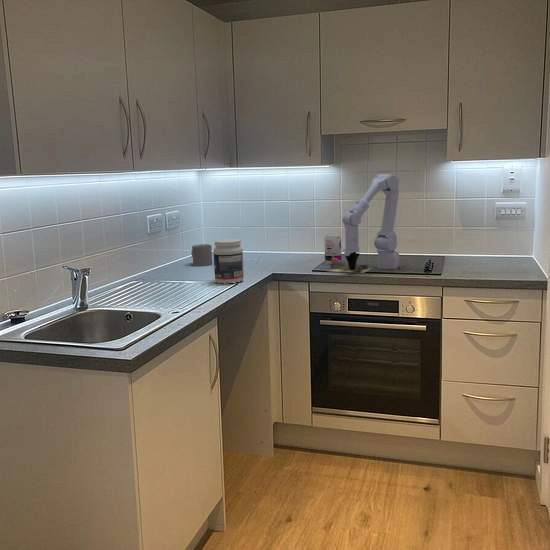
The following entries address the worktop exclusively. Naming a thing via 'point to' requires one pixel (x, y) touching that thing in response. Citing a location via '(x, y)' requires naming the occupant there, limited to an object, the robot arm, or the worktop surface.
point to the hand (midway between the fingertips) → (352, 269)
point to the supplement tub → (228, 261)
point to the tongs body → (339, 266)
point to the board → (348, 270)
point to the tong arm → (346, 266)
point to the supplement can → (332, 248)
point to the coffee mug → (202, 255)
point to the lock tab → (334, 260)
